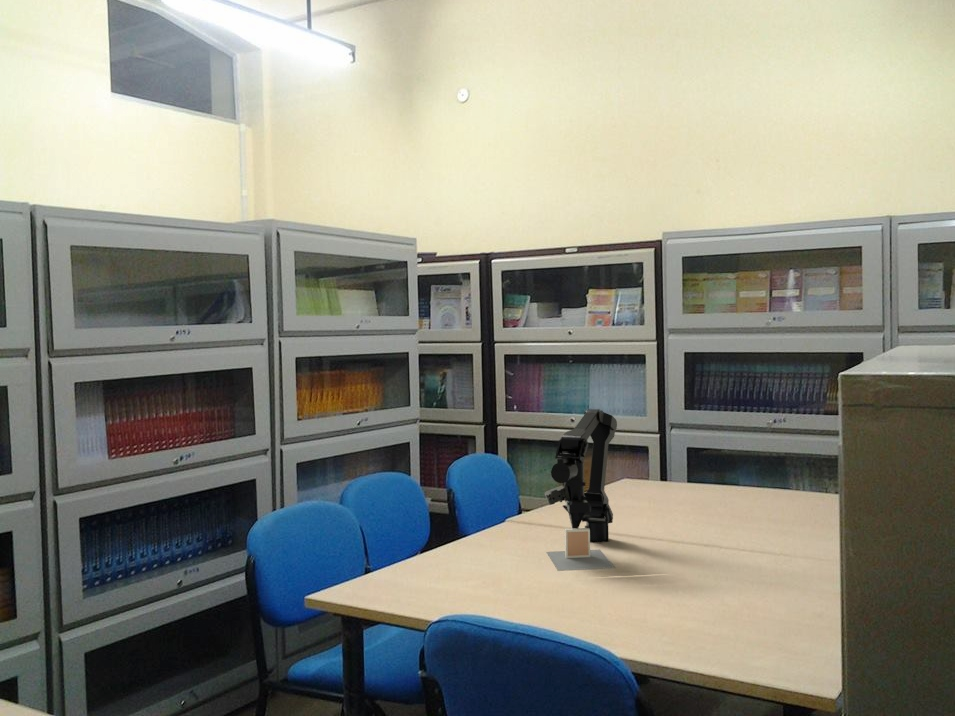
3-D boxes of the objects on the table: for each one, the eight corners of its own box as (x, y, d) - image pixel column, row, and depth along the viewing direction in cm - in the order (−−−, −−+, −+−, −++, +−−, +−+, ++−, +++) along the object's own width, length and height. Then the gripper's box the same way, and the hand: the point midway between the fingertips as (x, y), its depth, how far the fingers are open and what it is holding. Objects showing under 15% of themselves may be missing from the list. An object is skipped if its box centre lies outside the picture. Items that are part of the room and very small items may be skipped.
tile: (589, 555, 248) (588, 527, 248) (590, 557, 246) (589, 529, 246) (565, 556, 247) (564, 528, 247) (566, 558, 246) (565, 530, 245)
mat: (599, 550, 254) (599, 549, 254) (616, 569, 234) (616, 567, 234) (546, 553, 253) (546, 551, 253) (557, 572, 233) (557, 570, 233)
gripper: (541, 473, 258) (542, 525, 258) (551, 484, 239) (552, 540, 240) (578, 472, 259) (579, 523, 259) (591, 482, 240) (592, 538, 241)
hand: (574, 531), depth 250 cm, fingers closed
